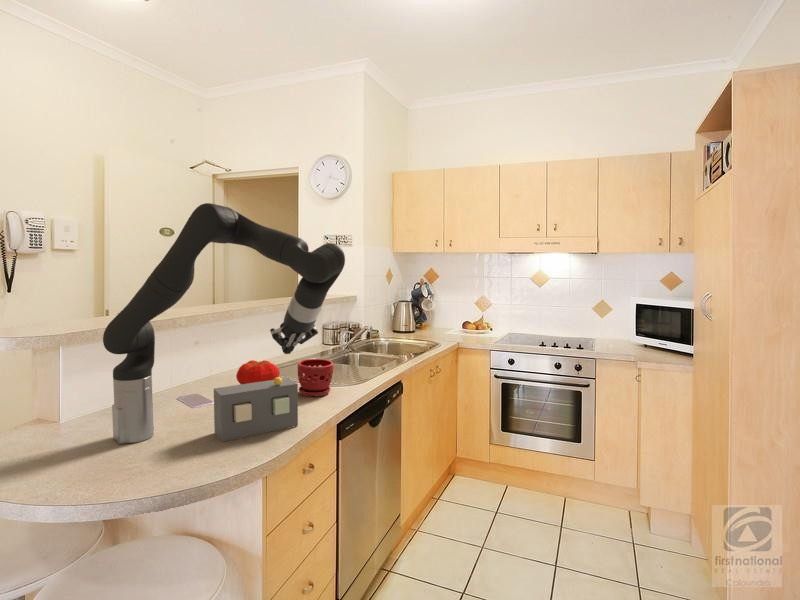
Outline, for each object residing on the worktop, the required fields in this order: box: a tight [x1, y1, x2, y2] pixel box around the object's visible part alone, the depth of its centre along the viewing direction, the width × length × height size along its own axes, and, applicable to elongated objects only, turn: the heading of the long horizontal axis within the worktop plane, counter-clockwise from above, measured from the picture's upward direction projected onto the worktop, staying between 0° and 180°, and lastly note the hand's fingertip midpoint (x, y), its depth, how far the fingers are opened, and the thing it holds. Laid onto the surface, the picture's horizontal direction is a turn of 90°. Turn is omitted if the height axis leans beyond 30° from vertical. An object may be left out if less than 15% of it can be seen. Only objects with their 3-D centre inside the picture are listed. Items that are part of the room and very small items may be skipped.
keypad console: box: [213, 376, 299, 443], centre depth 134 cm, size 8×22×15 cm, turn 125°
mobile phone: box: [177, 393, 214, 409], centre depth 161 cm, size 8×1×15 cm
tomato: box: [235, 359, 281, 385], centre depth 179 cm, size 14×16×10 cm
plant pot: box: [297, 358, 334, 397], centre depth 171 cm, size 13×13×12 cm
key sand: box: [232, 402, 252, 422], centre depth 128 cm, size 4×4×4 cm
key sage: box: [272, 396, 289, 415], centre depth 134 cm, size 4×4×4 cm
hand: (286, 351), depth 124 cm, fingers closed
